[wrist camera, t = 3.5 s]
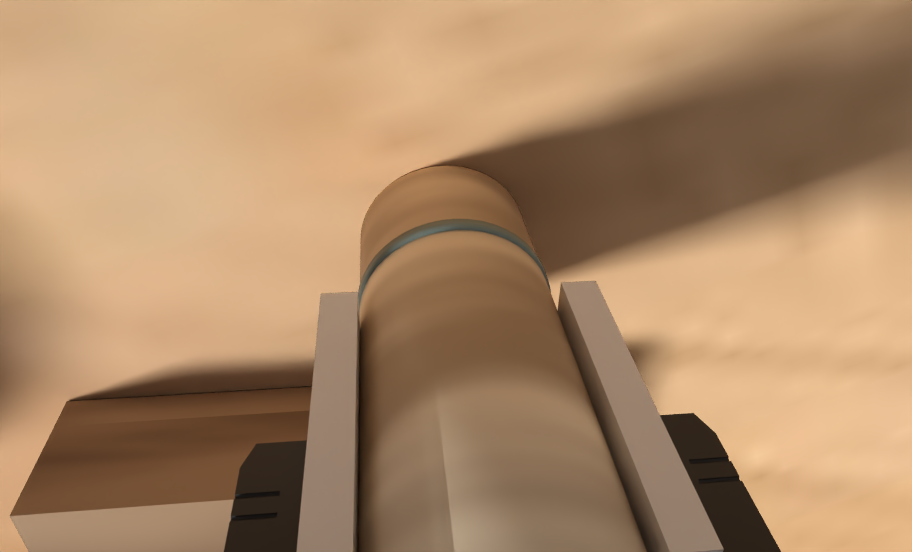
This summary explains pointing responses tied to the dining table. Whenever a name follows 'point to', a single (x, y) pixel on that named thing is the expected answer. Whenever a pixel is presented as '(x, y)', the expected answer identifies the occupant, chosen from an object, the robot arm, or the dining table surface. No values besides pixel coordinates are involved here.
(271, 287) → the dining table surface
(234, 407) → the board
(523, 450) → the peg
